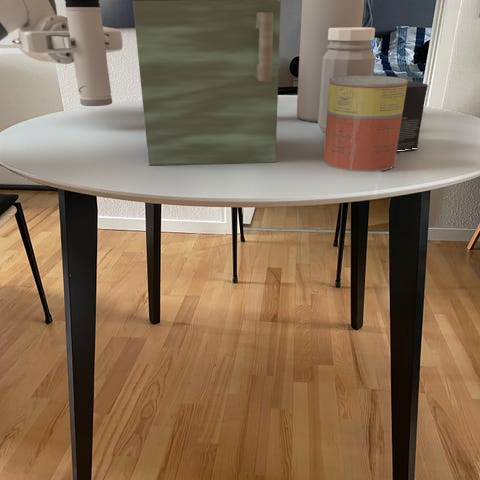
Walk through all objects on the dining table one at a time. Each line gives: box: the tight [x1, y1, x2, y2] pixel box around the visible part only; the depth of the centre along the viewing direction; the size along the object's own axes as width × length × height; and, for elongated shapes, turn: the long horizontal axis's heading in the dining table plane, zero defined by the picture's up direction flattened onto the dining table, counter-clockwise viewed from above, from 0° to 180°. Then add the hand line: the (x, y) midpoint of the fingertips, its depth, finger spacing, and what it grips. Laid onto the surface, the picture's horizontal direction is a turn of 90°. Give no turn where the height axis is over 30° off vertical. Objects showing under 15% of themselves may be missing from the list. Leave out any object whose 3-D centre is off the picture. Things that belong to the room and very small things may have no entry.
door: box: [132, 0, 282, 166], centre depth 71 cm, size 6×20×22 cm, turn 94°
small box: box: [397, 80, 429, 150], centre depth 87 cm, size 11×6×10 cm, turn 21°
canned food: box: [322, 75, 409, 173], centre depth 76 cm, size 11×11×12 cm
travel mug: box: [64, 0, 113, 107], centre depth 96 cm, size 6×7×20 cm
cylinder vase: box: [296, 0, 366, 123], centre depth 107 cm, size 12×12×25 cm
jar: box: [317, 26, 377, 134], centre depth 96 cm, size 10×10×18 cm
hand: (90, 42), depth 95 cm, fingers closed on travel mug, 6 cm apart
